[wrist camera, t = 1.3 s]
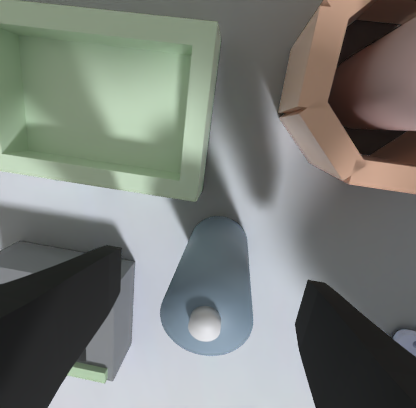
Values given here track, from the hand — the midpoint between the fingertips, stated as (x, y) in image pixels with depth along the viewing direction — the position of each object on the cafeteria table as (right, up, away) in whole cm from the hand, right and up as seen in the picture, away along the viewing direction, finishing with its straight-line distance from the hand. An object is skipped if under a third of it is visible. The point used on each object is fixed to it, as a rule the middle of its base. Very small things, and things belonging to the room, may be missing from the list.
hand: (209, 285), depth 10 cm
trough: (-5, +8, +2) cm, 9 cm away
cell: (+1, +1, +4) cm, 4 cm away
